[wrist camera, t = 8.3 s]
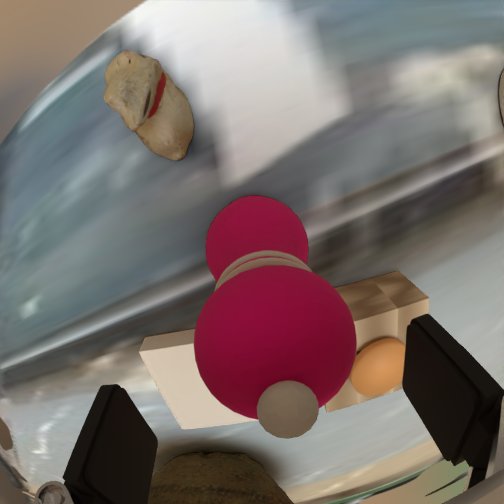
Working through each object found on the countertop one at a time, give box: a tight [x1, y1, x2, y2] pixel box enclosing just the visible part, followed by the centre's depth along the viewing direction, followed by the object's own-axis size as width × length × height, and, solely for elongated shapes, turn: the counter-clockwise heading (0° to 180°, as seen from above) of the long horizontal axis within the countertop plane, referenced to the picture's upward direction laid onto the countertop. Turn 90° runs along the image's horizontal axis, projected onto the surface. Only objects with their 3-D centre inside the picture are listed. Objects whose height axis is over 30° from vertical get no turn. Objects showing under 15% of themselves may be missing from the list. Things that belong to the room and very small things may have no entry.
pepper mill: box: [194, 195, 357, 438], centre depth 17 cm, size 7×7×20 cm
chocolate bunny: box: [104, 50, 194, 160], centre depth 18 cm, size 6×8×10 cm
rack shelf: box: [139, 329, 257, 430], centre depth 30 cm, size 12×12×2 cm
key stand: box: [325, 271, 429, 412], centre depth 27 cm, size 10×10×6 cm
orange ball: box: [349, 338, 405, 396], centre depth 26 cm, size 6×6×7 cm
